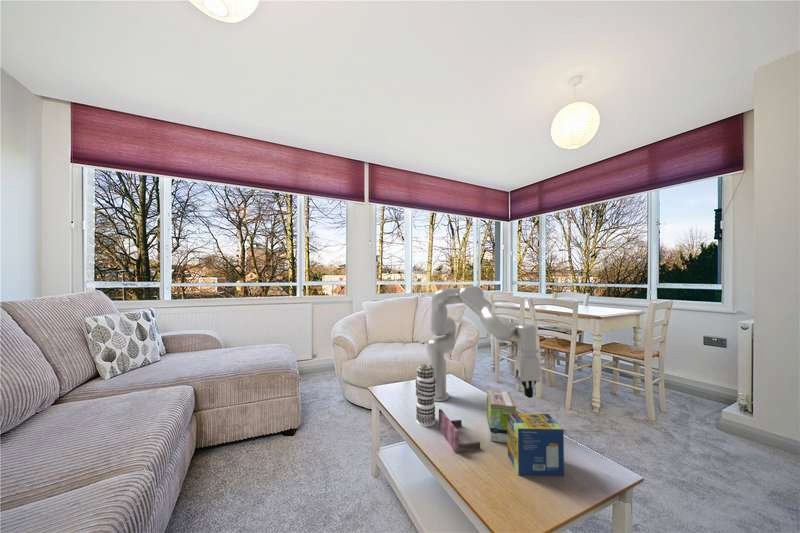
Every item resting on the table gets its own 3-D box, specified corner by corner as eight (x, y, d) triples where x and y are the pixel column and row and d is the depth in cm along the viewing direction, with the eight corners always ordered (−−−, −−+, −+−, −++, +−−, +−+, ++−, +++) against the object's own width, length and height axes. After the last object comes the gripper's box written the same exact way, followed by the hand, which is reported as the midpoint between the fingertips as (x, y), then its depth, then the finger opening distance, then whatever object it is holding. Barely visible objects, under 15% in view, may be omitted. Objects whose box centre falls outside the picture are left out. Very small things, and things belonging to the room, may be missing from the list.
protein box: (507, 456, 106) (506, 413, 106) (549, 456, 105) (549, 413, 106) (517, 476, 95) (517, 428, 96) (565, 476, 95) (564, 428, 95)
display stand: (438, 428, 125) (438, 409, 125) (460, 425, 127) (460, 406, 127) (455, 453, 107) (454, 431, 108) (480, 449, 110) (480, 428, 110)
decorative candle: (440, 423, 129) (439, 366, 130) (423, 429, 124) (423, 370, 125) (428, 414, 137) (427, 361, 138) (411, 419, 132) (411, 364, 133)
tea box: (516, 444, 113) (516, 406, 113) (490, 441, 115) (489, 403, 115) (510, 424, 128) (509, 390, 128) (486, 422, 130) (486, 389, 130)
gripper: (536, 350, 130) (538, 391, 129) (506, 352, 127) (508, 394, 126) (548, 354, 123) (550, 398, 122) (516, 356, 120) (518, 402, 119)
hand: (528, 396), depth 124 cm, fingers closed
